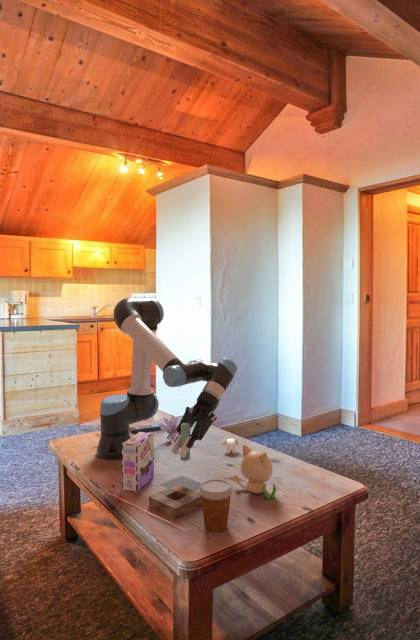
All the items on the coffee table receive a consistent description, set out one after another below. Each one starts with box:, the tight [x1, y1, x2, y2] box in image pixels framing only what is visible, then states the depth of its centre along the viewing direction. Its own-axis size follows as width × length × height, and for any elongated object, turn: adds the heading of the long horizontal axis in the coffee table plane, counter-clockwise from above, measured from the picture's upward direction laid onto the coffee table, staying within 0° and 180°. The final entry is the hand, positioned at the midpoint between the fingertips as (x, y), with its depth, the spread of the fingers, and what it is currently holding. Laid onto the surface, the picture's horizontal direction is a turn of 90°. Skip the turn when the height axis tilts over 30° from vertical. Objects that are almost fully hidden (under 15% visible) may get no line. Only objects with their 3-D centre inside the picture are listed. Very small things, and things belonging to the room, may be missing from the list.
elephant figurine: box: [222, 437, 240, 455], centre depth 184 cm, size 7×8×6 cm
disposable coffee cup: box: [198, 478, 233, 533], centre depth 125 cm, size 10×10×12 cm
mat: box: [160, 475, 202, 491], centre depth 152 cm, size 12×10×1 cm
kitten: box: [232, 444, 277, 500], centre depth 147 cm, size 15×10×15 cm
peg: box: [180, 423, 191, 462], centre depth 150 cm, size 3×3×12 cm
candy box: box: [121, 431, 155, 493], centre depth 153 cm, size 14×6×16 cm, turn 163°
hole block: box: [148, 484, 202, 520], centre depth 137 cm, size 12×12×4 cm
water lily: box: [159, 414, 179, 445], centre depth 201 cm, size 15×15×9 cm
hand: (177, 453), depth 148 cm, fingers closed on peg, 3 cm apart
